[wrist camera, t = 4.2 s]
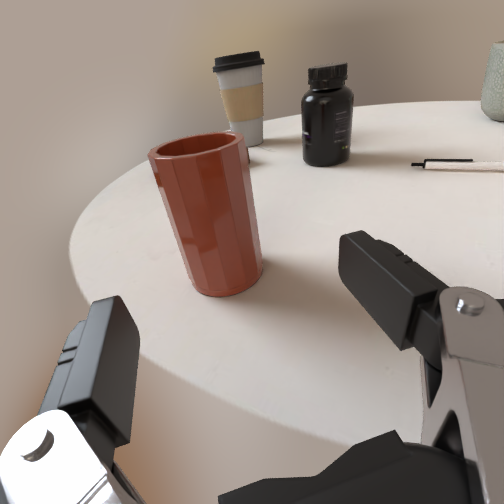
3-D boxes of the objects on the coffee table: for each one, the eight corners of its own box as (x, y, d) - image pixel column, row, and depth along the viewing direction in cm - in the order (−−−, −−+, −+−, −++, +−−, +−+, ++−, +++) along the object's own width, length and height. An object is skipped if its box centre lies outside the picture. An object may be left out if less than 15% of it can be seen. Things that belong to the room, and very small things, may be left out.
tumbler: (212, 309, 19) (168, 165, 14) (180, 271, 24) (136, 149, 18) (278, 272, 22) (263, 136, 16) (237, 243, 26) (215, 128, 20)
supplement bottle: (293, 163, 43) (288, 70, 36) (320, 151, 46) (321, 64, 39) (332, 170, 38) (334, 65, 31) (359, 155, 42) (366, 58, 35)
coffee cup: (262, 135, 62) (253, 52, 54) (279, 142, 54) (271, 48, 46) (221, 143, 60) (206, 60, 52) (232, 153, 53) (216, 57, 44)
